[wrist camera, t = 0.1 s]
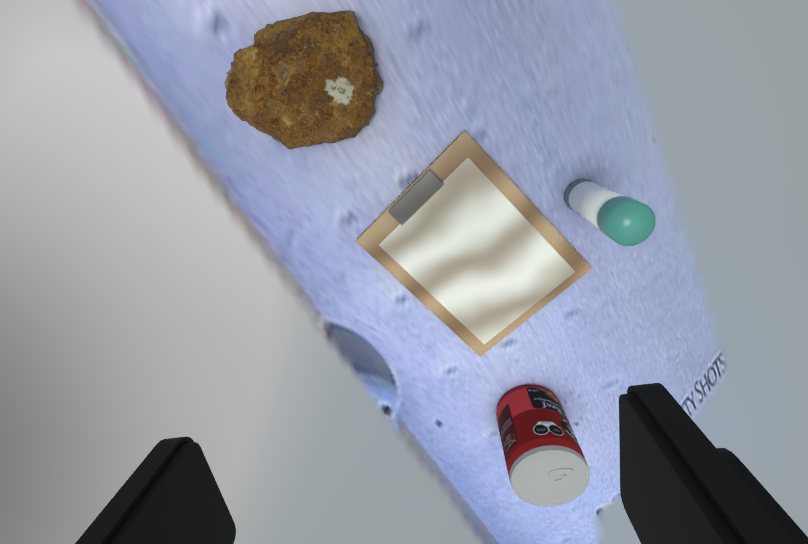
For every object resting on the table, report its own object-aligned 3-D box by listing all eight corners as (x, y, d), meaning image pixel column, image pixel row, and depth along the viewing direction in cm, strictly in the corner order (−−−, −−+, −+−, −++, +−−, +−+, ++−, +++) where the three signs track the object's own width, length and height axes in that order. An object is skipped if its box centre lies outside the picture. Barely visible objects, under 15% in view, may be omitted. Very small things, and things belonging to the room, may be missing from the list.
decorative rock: (259, 163, 45) (395, 123, 43) (245, 170, 41) (393, 126, 39) (211, 45, 41) (361, -4, 39) (191, 41, 37) (355, -14, 35)
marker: (556, 194, 44) (599, 224, 32) (583, 170, 43) (637, 193, 31) (577, 217, 44) (626, 254, 33) (604, 194, 43) (664, 224, 32)
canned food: (571, 413, 53) (605, 485, 43) (517, 442, 55) (537, 518, 45) (537, 371, 51) (564, 437, 41) (483, 403, 53) (495, 473, 43)
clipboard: (356, 239, 47) (354, 243, 45) (464, 130, 42) (466, 131, 40) (479, 353, 51) (481, 360, 49) (590, 266, 46) (595, 271, 45)
